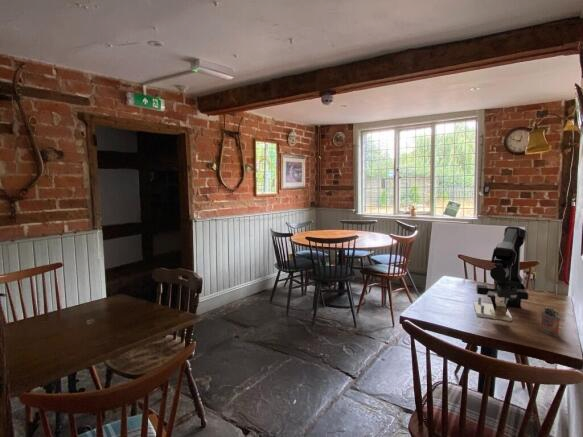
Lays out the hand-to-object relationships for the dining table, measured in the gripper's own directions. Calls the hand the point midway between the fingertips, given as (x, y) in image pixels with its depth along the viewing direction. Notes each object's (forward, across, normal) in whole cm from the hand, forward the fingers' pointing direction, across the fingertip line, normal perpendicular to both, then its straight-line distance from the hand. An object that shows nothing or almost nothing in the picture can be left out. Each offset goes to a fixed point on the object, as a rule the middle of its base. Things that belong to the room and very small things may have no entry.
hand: (499, 311), depth 152 cm
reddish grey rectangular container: (+6, +18, 0) cm, 19 cm away
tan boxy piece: (+2, 0, 0) cm, 2 cm away
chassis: (+6, -1, +15) cm, 16 cm away
